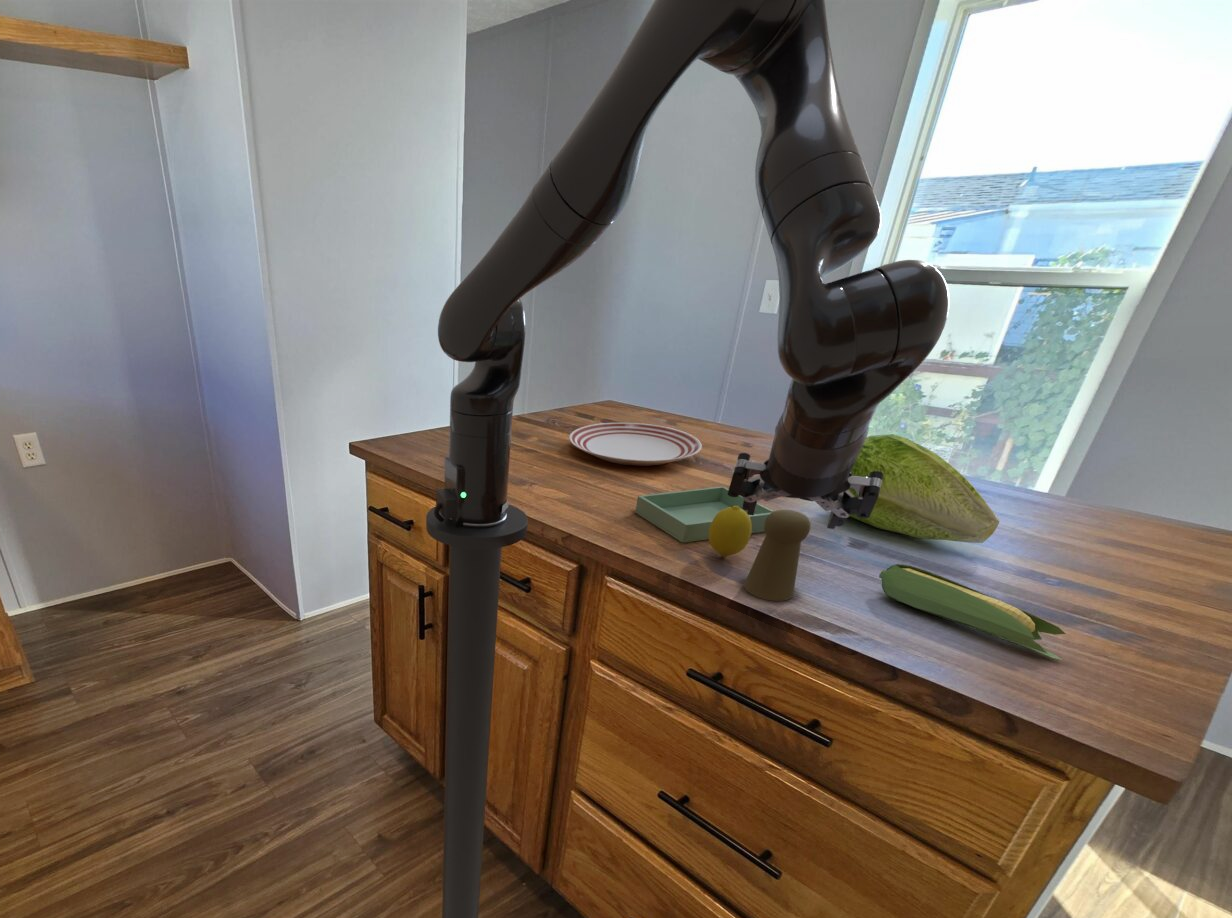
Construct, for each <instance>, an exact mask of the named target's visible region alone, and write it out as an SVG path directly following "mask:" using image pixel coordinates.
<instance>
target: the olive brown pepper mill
mask: <svg viewBox="0 0 1232 918" xmlns="http://www.w3.org/2000/svg"><path fill="white" fill-rule="evenodd" d="M811 527H812V526H811V520H810V518H809V517H808V516H807V515H806V514H804V513H802V512H799V511H796V510H791V509H777V510H773V512H772V513H771V514H769V515H768V516H767V518H766V520H765V523H764V530H765V532H764V534H765V536H764V539H763V541H762V543H761V545H760V548H759V550H758V552H757V554H756V557H755V559H754V561H753V564H752V566H751V567H750V570H749V573H748V575H747V577H746V578H745V579H746V580H745V581H744V584H743V588H744V589H745V591H746V592H748V593H749V594H750V595H752V596H753V597H756V598H759V599H762V600H766V601H771V602H784V601H786V602H787V601H789V600H791V599H792V598H793V597H794V594H795V587H796V580H797V573H798V566H799V560H800V552H801V547H802V542H803V541H804V540H805V539H806V538H807V537H808V535H809V534H810V533H811V532H810V531H811Z"/></svg>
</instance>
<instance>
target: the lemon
mask: <svg viewBox="0 0 1232 918" xmlns="http://www.w3.org/2000/svg"><path fill="white" fill-rule="evenodd" d="M751 530H752V525H751V519H750V517H749V515H748V514H747V513H746V512H745V511H744V510H742V509H740V508H739V506H733V507H729V508H726V509H723V510H721V511H720V512H719V513H718V514H717V515H716V516H715V517H714V519H713V521H712V523H711V526H710V529H709V539H708V542H709V544H710V546H711V548H712V549H713V550H714V551H715V552H717V553H718V554H719V555H720V557H722V558H727V557H728V556H732V555H736V554H738V553H740V552H741V551H743V550H744V549H745V548H746V547H747V545H748V544H749V541H750V538H751V535H752V533H751Z"/></svg>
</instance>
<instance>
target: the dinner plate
mask: <svg viewBox="0 0 1232 918" xmlns="http://www.w3.org/2000/svg"><path fill="white" fill-rule="evenodd" d="M568 440H569V442H570V444H571V445H573V446H574V447H576V448H577V449H579V450H581V451H583V452H585V453H587V454H589V455H591V456H594V457H596V458H597V459H600V460H602V461H605V462H609V463H613V464H618V465H623V466H624V465H625V466H635V467H650V466H661V465H664V464H669V463H674V462H679V461H682V460H685V459H688V458H691V457H692V456H695V455H696V454H698V453H700V451H701V450H702V448H703V445H702V442H701V441H700V440H699V439H698V438H697V437H696V436H694V435H693V434H690V433H688V432H685V431H683V430H680V429H678V428H677V429H676V428H673V427H669V426H663V425H659V424H650V423H642V422H601V423H595V424H594V423H593V424H588V425H585V426H581V427H578V428H576V429H575V430H573V431H572V432H571V433H570V434H569V435H568Z"/></svg>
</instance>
